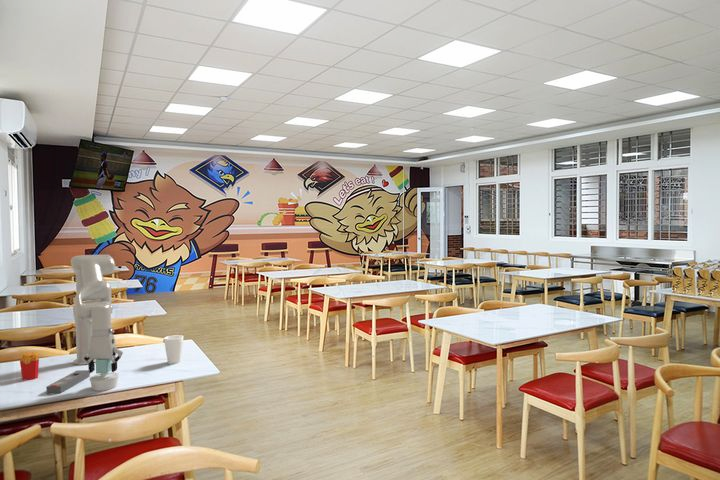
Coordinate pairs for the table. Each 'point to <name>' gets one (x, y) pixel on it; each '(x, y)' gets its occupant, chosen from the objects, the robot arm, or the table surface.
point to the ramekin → (104, 381)
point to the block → (103, 366)
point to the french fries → (29, 365)
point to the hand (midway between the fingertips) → (103, 371)
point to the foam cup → (173, 348)
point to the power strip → (68, 381)
